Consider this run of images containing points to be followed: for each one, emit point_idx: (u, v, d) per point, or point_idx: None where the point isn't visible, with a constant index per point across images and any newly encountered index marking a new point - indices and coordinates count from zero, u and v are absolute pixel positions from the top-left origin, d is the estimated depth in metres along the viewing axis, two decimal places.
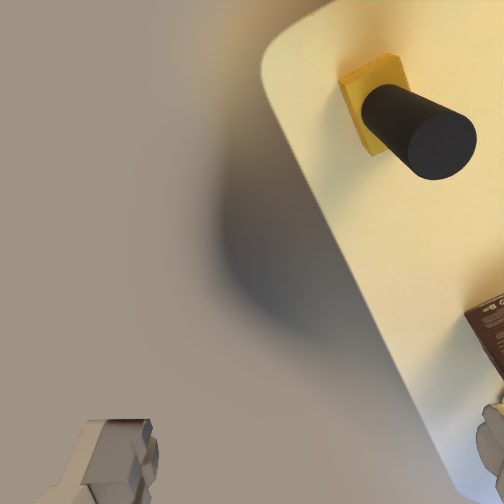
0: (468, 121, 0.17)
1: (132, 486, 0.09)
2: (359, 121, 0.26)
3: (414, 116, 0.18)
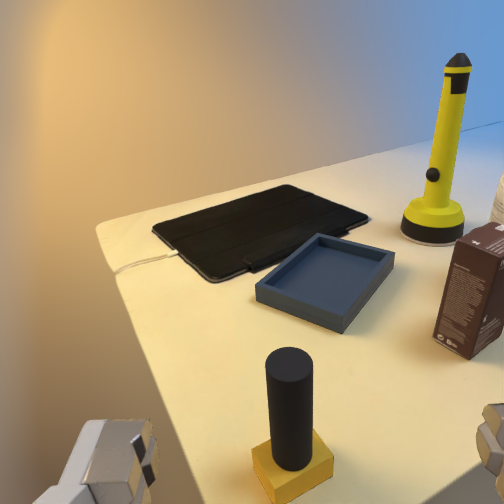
0: (270, 354, 0.26)
1: (132, 486, 0.08)
2: (304, 471, 0.29)
3: (272, 389, 0.25)
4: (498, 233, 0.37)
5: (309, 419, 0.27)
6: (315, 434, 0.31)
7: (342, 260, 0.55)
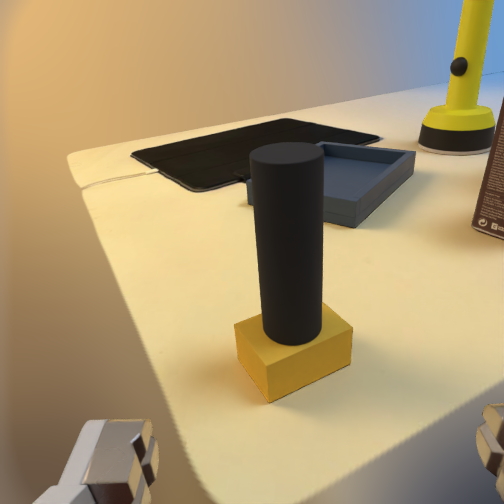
0: (258, 148, 0.17)
1: (132, 486, 0.09)
2: (310, 345, 0.19)
3: (260, 190, 0.16)
4: None
5: (318, 252, 0.18)
6: (325, 306, 0.22)
7: (352, 165, 0.46)
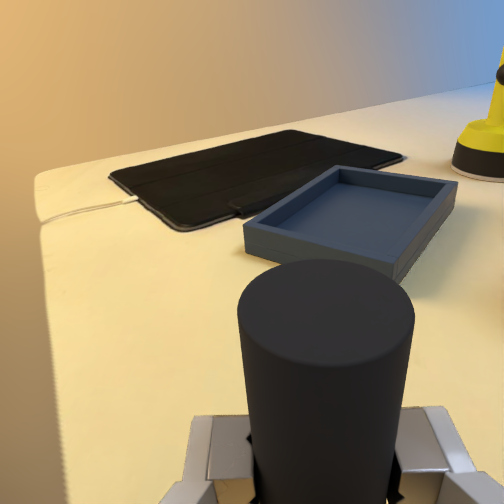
0: (258, 277, 0.08)
1: (254, 482, 0.08)
2: None
3: (263, 398, 0.07)
4: None
5: (384, 492, 0.08)
6: None
7: (376, 198, 0.37)
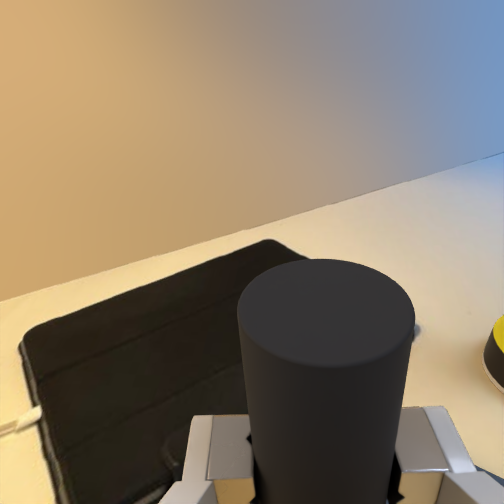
0: (258, 277, 0.08)
1: (254, 482, 0.08)
2: None
3: (263, 398, 0.07)
4: None
5: (385, 493, 0.08)
6: None
7: None
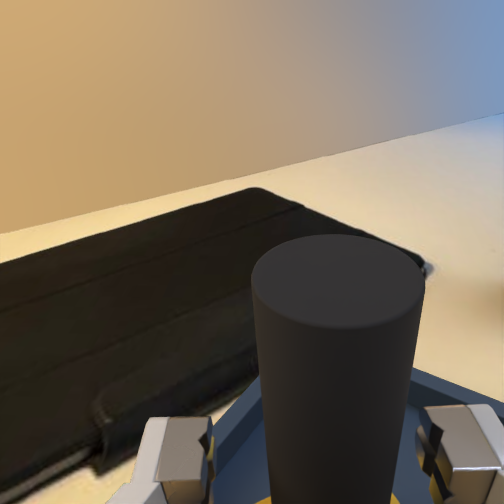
0: (274, 248, 0.08)
1: (203, 483, 0.08)
2: None
3: (273, 360, 0.07)
4: None
5: (391, 468, 0.08)
6: None
7: None
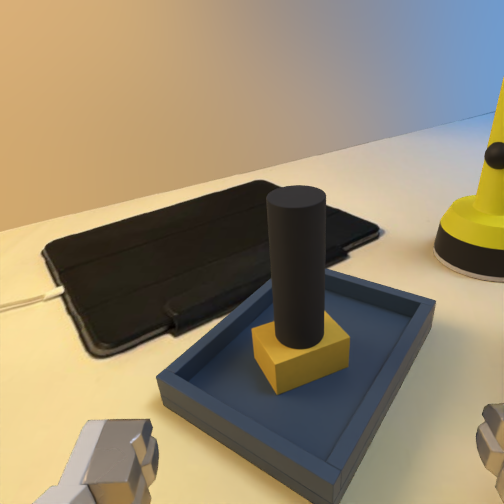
0: (274, 190, 0.21)
1: (132, 486, 0.09)
2: (312, 350, 0.24)
3: (274, 225, 0.20)
4: None
5: (320, 275, 0.22)
6: (329, 318, 0.26)
7: (336, 313, 0.30)
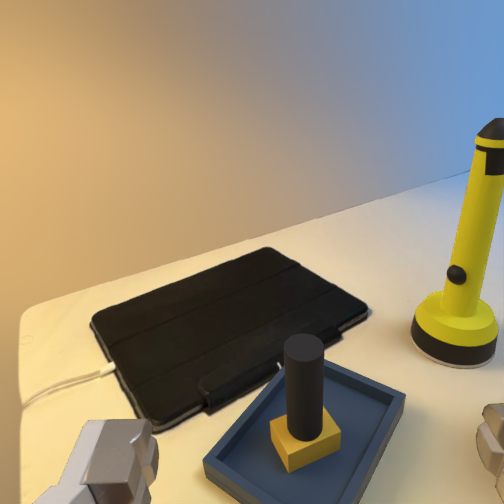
0: (289, 338, 0.31)
1: (132, 486, 0.09)
2: (314, 442, 0.33)
3: (289, 368, 0.30)
4: None
5: (319, 396, 0.31)
6: (326, 412, 0.36)
7: (332, 398, 0.40)
